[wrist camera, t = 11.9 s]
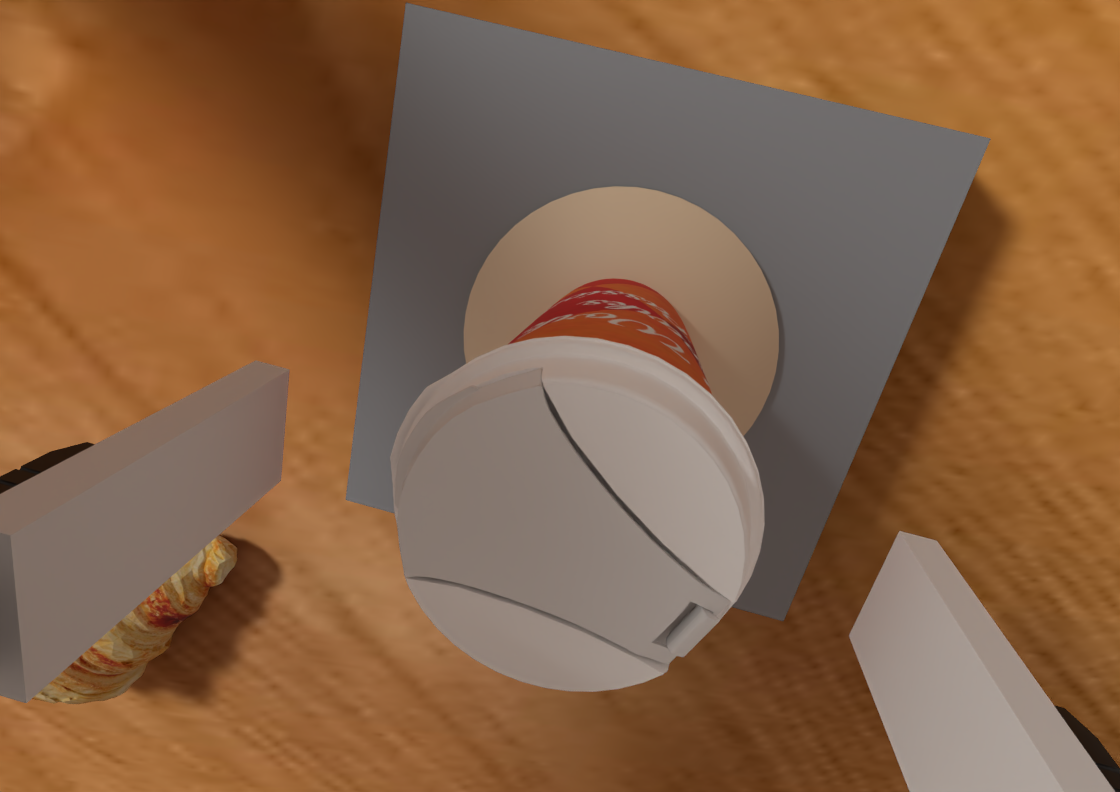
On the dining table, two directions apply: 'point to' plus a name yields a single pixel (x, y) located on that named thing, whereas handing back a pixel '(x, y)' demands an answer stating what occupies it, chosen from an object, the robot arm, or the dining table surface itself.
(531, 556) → the paper cup
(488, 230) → the plinth
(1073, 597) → the dining table surface
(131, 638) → the croissant
